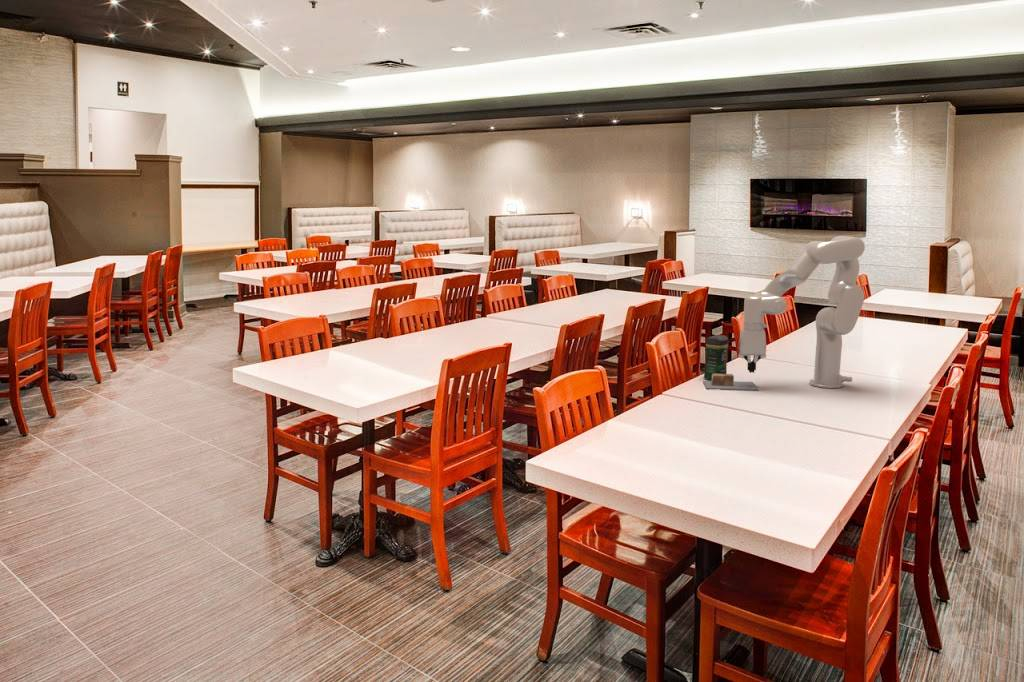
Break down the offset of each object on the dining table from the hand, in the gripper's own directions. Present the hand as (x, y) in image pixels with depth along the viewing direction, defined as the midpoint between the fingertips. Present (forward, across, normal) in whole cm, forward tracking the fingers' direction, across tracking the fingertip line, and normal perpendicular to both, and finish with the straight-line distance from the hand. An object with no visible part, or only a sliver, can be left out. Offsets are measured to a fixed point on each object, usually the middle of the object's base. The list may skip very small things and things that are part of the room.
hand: (751, 371), depth 302 cm
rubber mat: (+6, +8, 0) cm, 10 cm away
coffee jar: (+6, +12, -13) cm, 19 cm away
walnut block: (+3, +7, 0) cm, 8 cm away
